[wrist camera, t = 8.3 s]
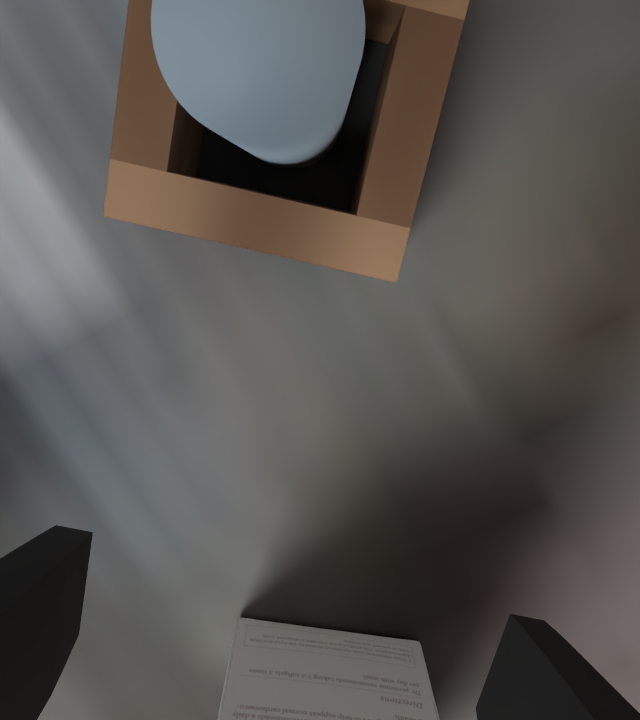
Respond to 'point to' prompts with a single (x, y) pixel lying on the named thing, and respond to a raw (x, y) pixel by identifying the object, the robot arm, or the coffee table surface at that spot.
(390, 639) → the supplement box
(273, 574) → the coffee table surface
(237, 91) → the dowel
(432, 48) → the brown square frame
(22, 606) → the robot arm
